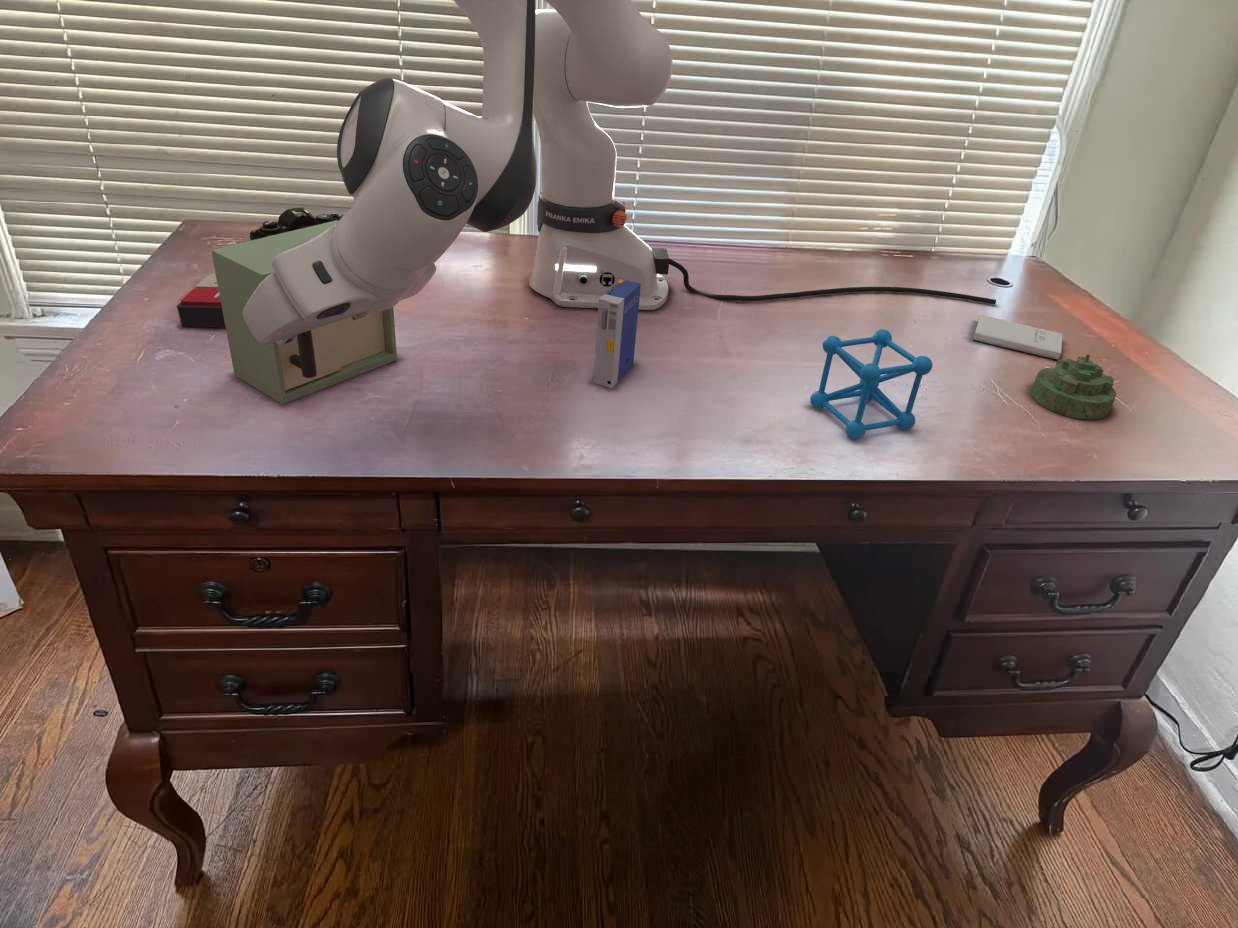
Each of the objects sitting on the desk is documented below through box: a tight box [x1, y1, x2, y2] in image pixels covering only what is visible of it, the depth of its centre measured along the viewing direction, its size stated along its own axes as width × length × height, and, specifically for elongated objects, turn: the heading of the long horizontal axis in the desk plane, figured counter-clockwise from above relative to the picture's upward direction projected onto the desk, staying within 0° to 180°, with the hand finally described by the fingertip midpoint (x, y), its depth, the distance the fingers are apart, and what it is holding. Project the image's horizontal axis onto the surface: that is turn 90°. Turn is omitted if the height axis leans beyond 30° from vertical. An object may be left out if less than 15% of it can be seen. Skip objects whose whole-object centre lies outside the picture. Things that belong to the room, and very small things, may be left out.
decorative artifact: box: [1030, 353, 1117, 421], centre depth 116 cm, size 10×7×10 cm
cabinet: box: [210, 220, 398, 405], centre depth 105 cm, size 10×17×16 cm, turn 142°
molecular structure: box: [809, 328, 933, 440], centre depth 107 cm, size 10×10×10 cm
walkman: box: [592, 279, 641, 389], centre depth 111 cm, size 8×3×12 cm, turn 158°
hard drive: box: [972, 314, 1063, 361], centre depth 134 cm, size 2×8×12 cm
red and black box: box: [176, 273, 226, 328], centre depth 120 cm, size 11×4×15 cm
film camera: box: [249, 207, 344, 241], centre depth 134 cm, size 18×12×10 cm
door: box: [278, 322, 341, 391], centre depth 100 cm, size 4×8×13 cm, turn 142°
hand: (318, 324), depth 94 cm, fingers open, 8 cm apart
